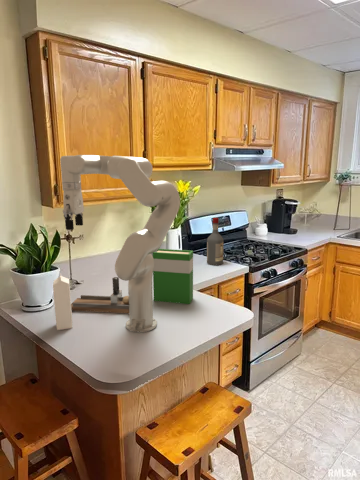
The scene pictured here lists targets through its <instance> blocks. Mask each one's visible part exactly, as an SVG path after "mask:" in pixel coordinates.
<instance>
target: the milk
mask: <svg viewBox="0 0 360 480" xmlns="http://www.w3.org/2000/svg"><path fill="white" fill-rule="evenodd" d="M70 286H71V285H70V279H69V278H68V277H65V276H63V275H62V273H60V276H58V277H57V278H56V279H54V280H53V284H52V289H53V290H52V291H53V301H54V314H55V324H56V325H55V326H56V330H57V331H61V330H67V329H69V330H70V329H73V314H72V313H73V312H72V310H71V304H72V300H71V289H70V288H71V287H70Z"/></svg>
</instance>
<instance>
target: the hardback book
mask: <svg viewBox="0 0 360 480" xmlns="http://www.w3.org/2000/svg"><path fill="white" fill-rule="evenodd" d="M152 256H153V259H154V268H153V276H152V291H153V302H162V303H163V302H165V303H172V304H183V305H191V303H192V301H193V299H194V250H189V249H188V250H187V249H172V248H171V249H170V248H168V249H167V248H159V249H158V250H157V251H155V252H153V253H152Z"/></svg>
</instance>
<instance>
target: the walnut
mask: <svg viewBox="0 0 360 480" xmlns="http://www.w3.org/2000/svg"><path fill="white" fill-rule="evenodd" d="M122 297H123V300H122V301H123V303H124V304H125V305H128V304H129V295H125V296H122Z"/></svg>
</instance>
